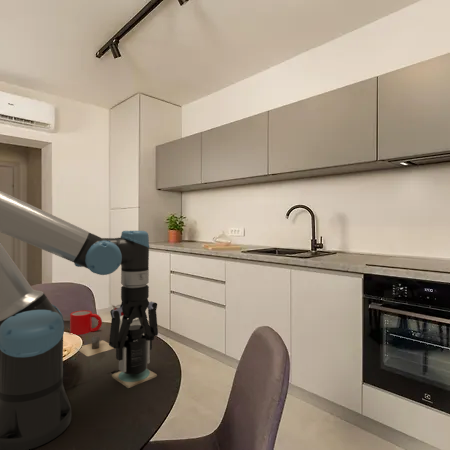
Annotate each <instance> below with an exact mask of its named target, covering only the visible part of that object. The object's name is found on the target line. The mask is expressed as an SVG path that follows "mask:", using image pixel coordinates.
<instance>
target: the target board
mask: <svg viewBox="0 0 450 450" xmlns="http://www.w3.org/2000/svg"><path fill="white" fill-rule="evenodd" d="M157 376H158V375H157V373H156V372H153V371H151V370H150V369H149V368H148V367H147V368H146V370H145V371H144V372H142V373H139V374H134V375H129V374H125V373H123V372H122V371H120V370H119V371H118V372H115V373H113V374H111V378H112V379H114V380H115V381H117V382H119V383H120V384H121V385H123V386H124V387H125V388H127V389H129V388H132V387H134V386H138V385H139V384H142V383H144V382H147V381H150V380H153V379H154V378H157Z"/></svg>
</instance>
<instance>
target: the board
mask: <svg viewBox="0 0 450 450" xmlns="http://www.w3.org/2000/svg"><path fill="white" fill-rule="evenodd" d="M81 346H82V348H81V349H80V350H79V351H78V352H80V353H81V354H83V355H85V356H86V357H91V356H94V355H97V354H100V353H103V352H106V351H108V352H109V351H111V350H114V349H115V350H116V348H113V347H111V346H109V342H107V341H105V340H100V334H94V335H92V336H91V343H89V344H85V345H81Z"/></svg>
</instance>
